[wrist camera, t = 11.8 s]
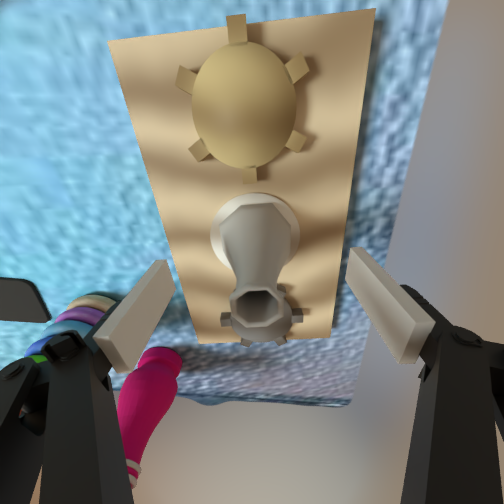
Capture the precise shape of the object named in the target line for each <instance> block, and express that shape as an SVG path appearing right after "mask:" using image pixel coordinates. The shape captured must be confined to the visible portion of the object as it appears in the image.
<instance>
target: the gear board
mask: <svg viewBox="0 0 504 504" xmlns="http://www.w3.org/2000/svg"><path fill="white" fill-rule="evenodd" d="M375 11H376V8H373V9H364V10H356V11H348V12H340V13H332V14H323V15H315V16H307V17H299V18H291V19H283V20H274V21H266V22H258V23H250V24H246V14H240V15H232V16H226V20H227V26H225V27H217V28H209V29H201V30H193V31H184V32H176V33H168V34H160V35H152V36H143V37H135V38H127V39H119V40H111V41H107V42H108V46H109V49H110V52H111V55H112V59H113V62H114V65H115V69H116V72H117V75H118V78H119V82H120V85H121V88H122V92H123V95H124V98H125V102H126V105H127V108H128V111H129V115H130V118H131V121H132V125H133V128H134V131H135V134H136V138H137V141H138V144H139V148H140V151H141V154H142V158H143V161H144V164H145V167H146V171H147V174H148V177H149V181H150V184H151V187H152V190H153V194H154V197H155V200H156V204H157V207H158V210H159V214H160V217H161V220H162V223H163V227H164V230H165V233H166V237H167V240H168V243H169V246H170V250H171V253H172V256H173V260H174V263H175V266H176V270H177V273H178V276H179V279H180V283H181V286H182V289H183V293H184V296H185V299H186V302H187V306H188V309H189V312H190V316H191V319H192V322H193V326H194V329H195V332H196V335H197V339H198V342H199V344H207V343H227V342H241V343H240V345H243V346H246V347H249V346H250V345H251V343H252V342H270V341H275V342H276V343H277V344H278V346H280V345H282V344H285V343H287V340H290V339H311V338H330V334H331V327H332V320H333V313H334V306H335V298H336V291H337V284H338V277H339V270H340V263H341V255H342V248H343V241H344V234H345V227H346V219H347V212H348V205H349V198H350V191H351V184H352V176H353V169H354V162H355V155H356V148H357V141H358V133H359V126H360V119H361V112H362V105H363V97H364V90H365V83H366V76H367V69H368V62H369V54H370V47H371V40H372V33H373V26H374V18H375ZM264 203H273V205H274V206H275V207H276V208H277V209H278V211H279V212H280V213H281V214H282V215H283V217H284V218H285V219H286V220H287V221H288V223H289V224H290V225H291V252H290V254H289V256H288V258H287V260H286V261H285V263H284V265H283V268H282V270H281V272H280V274H279V277H278V280H277V291H278V292H279V293H281V294H282V296H283V300H284V317H282V318H280V319H279V320H277V321H275V322H274V323H272V324H270V325H269V326H267V327H248V328H246V327H245V326H244V325H242V324H241V323H240V322H239V321H237V320H236V319H235V318H234V317H232V314H231V308H230V302H229V296H230V295H231V294H232V293H233V292H234V291H235V290H236V281H237V279H236V276H235V274H234V272H233V270H232V267H231V265H230V263H229V261H228V260H227V258H226V256H225V254H224V252H223V247H222V241H221V235H220V229H219V224H220V223H221V222H223V221H224V220H225V219H226V218H227V217H228V216H229V215H230V214H232V213H233V212H234V211H235V210H236V209H237V208H238V207H239V206H240V205H251V204H264Z"/></svg>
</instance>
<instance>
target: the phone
mask: <svg viewBox="0 0 504 504" xmlns="http://www.w3.org/2000/svg"><path fill="white" fill-rule="evenodd" d="M0 320H2V321H18V322H34V323H46V322H47V321H49V320H50V315H49V313H48V311H47V309H46V307H45V305H44V303H43V301H42V299H41V297H40V295H39V293H38V291H37V290H36V288H35V286H34V285H33V284H32V283H31V282H29V281H27V280H24V279H15V278H3V277H0Z"/></svg>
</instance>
